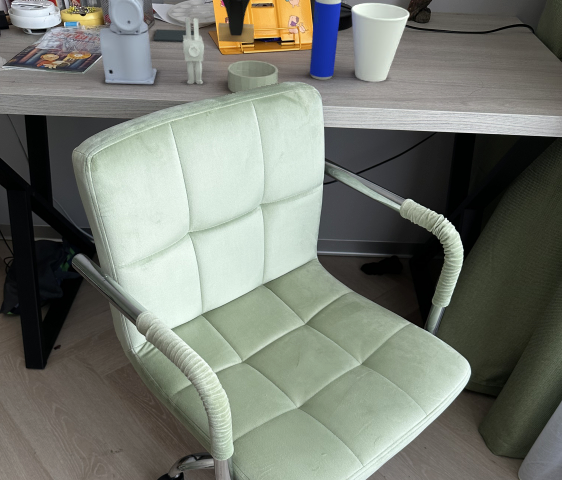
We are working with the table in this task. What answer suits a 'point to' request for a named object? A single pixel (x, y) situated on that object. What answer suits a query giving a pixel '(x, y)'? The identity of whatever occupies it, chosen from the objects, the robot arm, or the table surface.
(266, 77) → the tin
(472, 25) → the table surface
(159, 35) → the coaster
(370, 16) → the cup
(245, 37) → the tan wooden block
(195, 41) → the toy robot
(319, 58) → the beverage can
